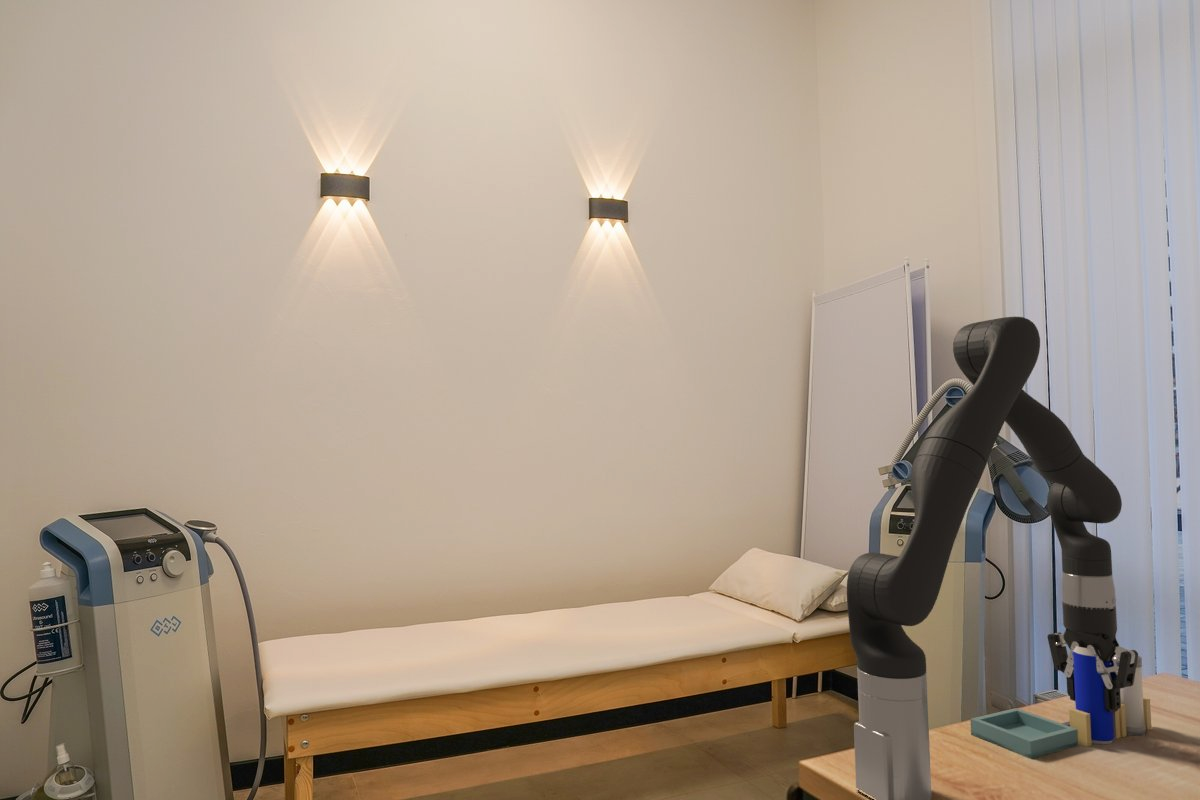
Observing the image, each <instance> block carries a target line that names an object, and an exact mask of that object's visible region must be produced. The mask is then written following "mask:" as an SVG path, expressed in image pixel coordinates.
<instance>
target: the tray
mask: <svg viewBox="0 0 1200 800" xmlns="http://www.w3.org/2000/svg"><path fill="white" fill-rule="evenodd" d="M1061 723H1062V722H1061ZM1061 723H1060V722H1058V721H1055V720H1052V719H1049V718H1046V717H1043V716H1040V715H1037V714H1034V713H1032V712H1029V711H1025V710H1023V709H1020V708H1018V707H1016V708H1011V709H1007V710H1002V711H998V712H993V713H989V714H985V715H982V716H981V715H980V716H977V717H972V718H970V734H971V736H974V737H976V738H979V739H982V740H984V741H986V742H989V743H991V744H994V745H995V746H996V745H997V746H998V747H1001V748H1004V749H1006V750H1008V751H1011V752H1014V753H1016V754H1018V755H1021V756H1023V757H1025V758H1028V759H1034V758H1039V757H1042V756H1045V755H1050V754H1053V753H1054V754H1055V753H1057V752H1060V751H1063V750H1067V749H1070V748H1076V747H1079V743H1078V730H1077V729H1075V728H1073V727H1070V726H1067V725H1064V724H1061Z"/></svg>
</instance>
